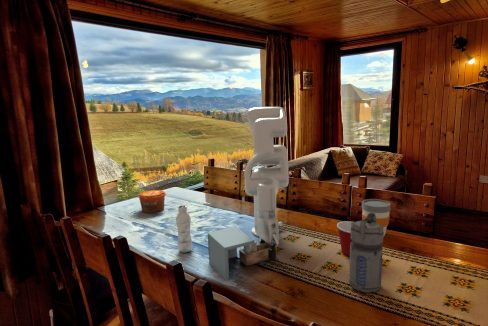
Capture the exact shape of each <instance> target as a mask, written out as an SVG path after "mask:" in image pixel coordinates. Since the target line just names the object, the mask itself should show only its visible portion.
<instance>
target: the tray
mask: <svg viewBox="0 0 488 326" xmlns="http://www.w3.org/2000/svg"><path fill="white" fill-rule="evenodd" d="M265 242H266V241H265ZM272 245H273V243H271V246H272ZM268 250H269V245H268V242H266V243H262V244H260V243H259V244H258V241H256V240H254V244H250V245H246V246H243V248H240V249H239V250H238V256H239V257H238V259H239V261H240V262H241V263H242V264H244V265H245V267H248V266H251V265H254V264H255V265H256V264H258V263H262V262H266V261H269V260H270V259H269V258H268ZM277 251H278V247H277V248H276V257H275V258H278V254H277V253H278V252H277ZM275 258H274V259H275Z"/></svg>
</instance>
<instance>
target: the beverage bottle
mask: <svg viewBox="0 0 488 326" xmlns="http://www.w3.org/2000/svg"><path fill="white" fill-rule="evenodd" d="M366 220H367V221H366ZM350 222H351V240H352V242H351V243H350V256H349V271H348V272H349V273H348V275H349V277H348V278H349V279H348V281H349V284H350V286H351V287H352V288H353V289H355V290H357V291H358V292H362V293H374V292H377V291H379V289H380V288H381V286H382V270H383V269H382V267H383V249H384V248H383V246H382V244H383V242H384V237H385V236H384V232H383V226H381V225H380V224H378V223H376V215H375V214H374V213H369V214H368V215H367V218H365V220H363V219H361V220H357V221H354V219H353V220H352V221H350ZM353 222H354V223H353Z"/></svg>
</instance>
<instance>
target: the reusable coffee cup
mask: <svg viewBox="0 0 488 326" xmlns="http://www.w3.org/2000/svg"><path fill="white" fill-rule="evenodd" d="M361 209H362V212H361V217H362V219H363V220H365V218H367V215H368V214H369V213H374V214H375V215H376V223H378V224H380V225H381V226H383V232H384V237H385V236H386V232H387V227H388V225H389V222H390V217H391V216H390V212H391V210H392V209H391V203H390V202H389V201H387V200H383V199H377V198H369V199H364V200H362V203H361ZM366 221H367V220H366Z"/></svg>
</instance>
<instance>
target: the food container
mask: <svg viewBox="0 0 488 326" xmlns="http://www.w3.org/2000/svg"><path fill="white" fill-rule="evenodd" d="M166 195H167V194H166V192H165V191H164V190H161V189H151V190H150V189H149V190H145V191H141V192H140V193H139V194H138V195H137V198H138V199H139V203H140V206H141V208H140V209H141V211H142V213H145V214H155V213H159V212H162V211H163V210H164V209H165V198H166Z"/></svg>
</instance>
